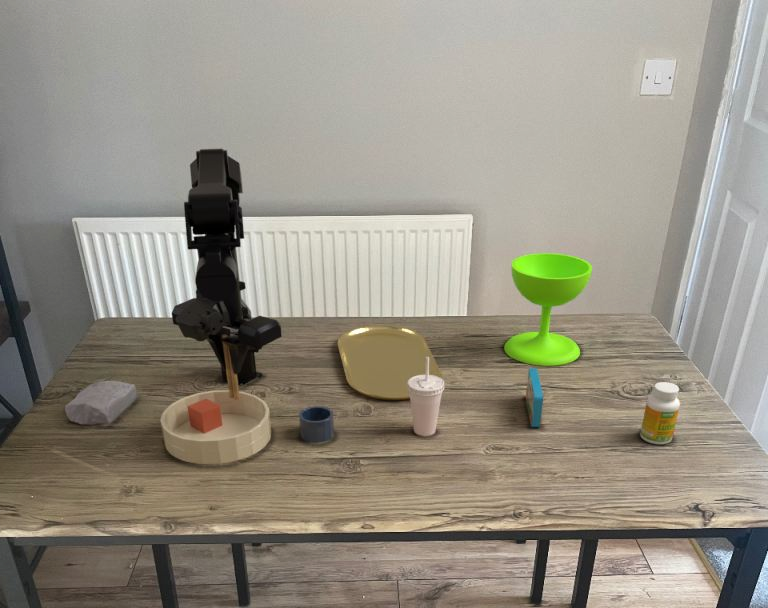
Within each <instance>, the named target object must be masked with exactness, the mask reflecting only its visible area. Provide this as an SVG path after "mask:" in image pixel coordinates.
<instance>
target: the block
mask: <svg viewBox="0 0 768 608" xmlns="http://www.w3.org/2000/svg"><path fill="white" fill-rule="evenodd" d="M188 412H189V418H190V424H191V427H193V428H195V429H197V430H199V431H201V432H202V433H204V434H205V433H207V432H209V431H211V430H213V429H216V428H218V427H220V426H222V419H221V411H220V405H218V404H216V403H214V402H212V401H210V400H208V399H204V400H201V401H199V402H197V403H194V404H192V405H189V406H188Z"/></svg>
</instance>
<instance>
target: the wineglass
mask: <svg viewBox="0 0 768 608" xmlns="http://www.w3.org/2000/svg"><path fill="white" fill-rule="evenodd" d="M592 273H593V265H592V264H591V263H590V262H589V261H587V260H585V259H583V258H580V257H577V256H573V255H569V254H562V253H551V252H539V253H538V252H537V253H530V254H525V255H521V256H518V257H516V258H514V259H513V260H512V261H511V277H512V280H513V283H514V287H516V289H517V291H518V292H519V293H520V295H521V296H522V297H523V298H525V299H526V300H527V301H529V302H530V303H531V304H533V305H537V306H540V307H541V314H540V316H541V317H540V323H539V331H527V332H521V333H519V334H516V335H513V336H512V337H510V338H509V339H507V341H506V342H505V344H504V347H503V350H504V352H505V354H506V355H508V356H509V357H510V358H511V359H514V360H515V361H517V362H521V363H524V364H529V365H534V366H544V367H548V366H549V367H551V366H561V365H562V366H563V365H567V364H570V363H572V362H574V361H576V360H577V359H579V357H580V355H581V351H580V350H581V349H580V347H579V346H578V344H577V343H576V342H575V341H574V340H573V339H571V338H569V337H568V336H565V335H562V334H558V333H554V332H549V331H550V323H551V315H552V308H553V307H560V306H563V305H565V304H568V303H569V302H572V301H574V300H575V299H576V298H577V297H579V295H580V294H581V293H582V292H583V291H584V290H585V288H586V286H587V285H588V283H589V281H590V280H591V276H592Z"/></svg>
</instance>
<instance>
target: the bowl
mask: <svg viewBox="0 0 768 608" xmlns="http://www.w3.org/2000/svg"><path fill="white" fill-rule="evenodd" d="M239 396H240V399H238V400H235V399H234V398H230V397H229V389H226V390H225V389H223V390H219V389H218V390H209V391H203V392H197V393H194V394H191V395H188V396H185V397H182V398H180V399H178V400H176V401H175V402H174V401H173V402H172V403H170V405H168V407H166V408H165V409H164V410H163V411H162V414H161V416H160V420H159V421H160V428H161V432H162V433H161V434H162V438H163V443H164V446H165V449H166V451H167V452H168V453H169V454H170V455H171V456H172V457H174V458H176V459H178V460H180V461H183V462H187V463H189V464H190V463H191V464H198V465H222V464H228V463H233V462H236V461H240V460H243V459H247V458H248V457H251V456H253V455H255V454H256V453H258V452H260V451H261V450H262V449H264V448H265V447H266V446H267V444H268V443H269V442H270V440H271V436H272V423H271V415H270V414H271V413H270V412H271V411H270V408H269V406H268V404H267V402H266V401H265V400H263V399H262V398H261V397H259V396H258V395H254V394H251V393H248V392H247V391H246V392H245V391H240V390H239ZM204 399H208V400H210V401H212V402H214V403H216V404H218V405H220V411H221V419H222V426H220V427H218V428H216V429H213V430H211V431H209V432H207V433H205V434H204V433H202V432H201V431H199V430H197V429H195V428H193V427H191V424H190V418H189V412H188V406H189V405H192V404H194V403H197V402H199V401H201V400H204Z"/></svg>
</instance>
